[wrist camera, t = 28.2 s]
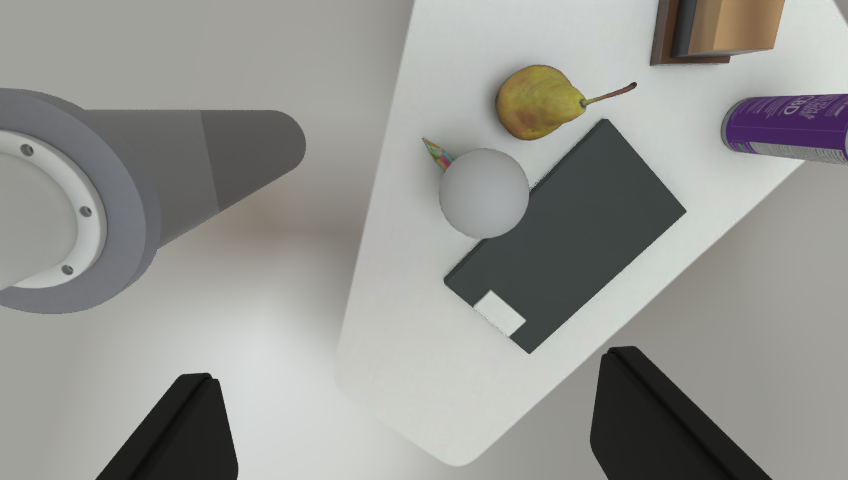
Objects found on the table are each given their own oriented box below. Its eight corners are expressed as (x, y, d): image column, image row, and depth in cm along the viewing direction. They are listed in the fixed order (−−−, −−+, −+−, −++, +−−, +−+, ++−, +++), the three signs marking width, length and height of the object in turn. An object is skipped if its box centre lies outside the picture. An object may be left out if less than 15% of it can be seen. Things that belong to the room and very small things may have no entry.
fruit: (504, 57, 32) (566, 27, 20) (566, 83, 33) (659, 68, 21) (478, 124, 33) (522, 132, 22) (538, 147, 34) (610, 166, 23)
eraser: (669, 58, 31) (712, 50, 27) (686, -45, 29) (736, -72, 25) (722, 57, 32) (773, 49, 27) (743, -45, 29) (802, -71, 25)
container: (742, 88, 34) (995, 71, 20) (782, 110, 35) (1053, 110, 20) (710, 139, 35) (927, 159, 21) (750, 160, 36) (984, 192, 22)
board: (526, 348, 41) (529, 354, 40) (443, 279, 37) (444, 283, 36) (679, 208, 37) (687, 211, 36) (602, 118, 34) (608, 118, 33)
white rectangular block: (507, 335, 39) (508, 337, 38) (472, 306, 37) (473, 307, 37) (525, 319, 38) (526, 320, 38) (490, 288, 37) (490, 290, 37)
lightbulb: (435, 215, 35) (452, 259, 25) (423, 147, 33) (437, 163, 23) (501, 203, 35) (546, 241, 25) (494, 134, 33) (539, 145, 23)
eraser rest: (649, 65, 33) (658, 64, 31) (666, -48, 30) (677, -54, 29) (717, 64, 33) (729, 63, 32) (740, -48, 30) (753, -54, 29)
